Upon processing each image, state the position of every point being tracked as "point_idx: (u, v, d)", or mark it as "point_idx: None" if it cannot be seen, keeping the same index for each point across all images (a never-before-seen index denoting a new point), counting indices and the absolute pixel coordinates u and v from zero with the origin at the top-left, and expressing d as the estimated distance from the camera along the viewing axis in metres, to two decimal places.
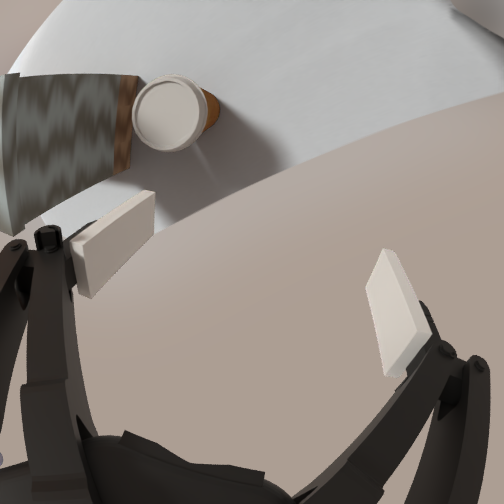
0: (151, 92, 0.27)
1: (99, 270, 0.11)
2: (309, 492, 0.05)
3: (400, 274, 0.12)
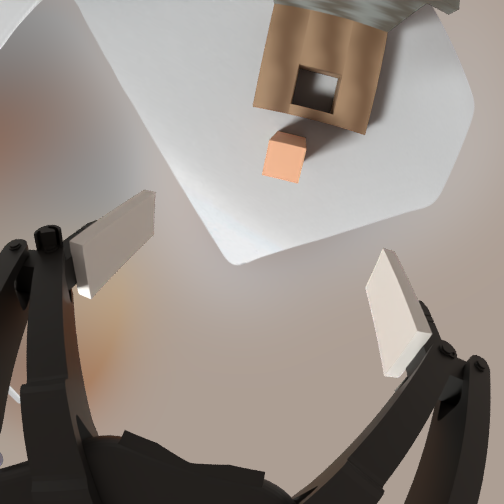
0: None
1: (99, 270, 0.11)
2: (309, 492, 0.05)
3: (400, 274, 0.12)
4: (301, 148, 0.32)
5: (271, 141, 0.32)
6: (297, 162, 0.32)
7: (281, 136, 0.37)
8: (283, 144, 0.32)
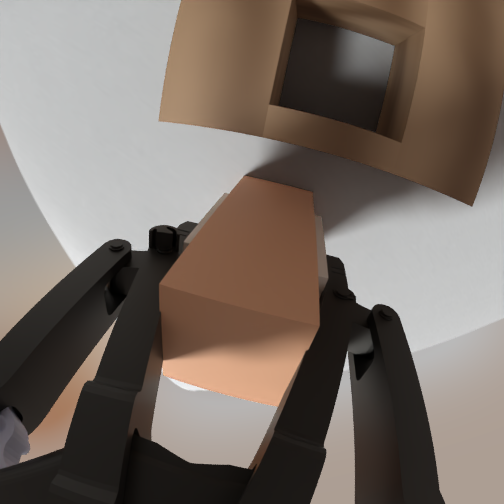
0: None
1: None
2: (253, 470, 0.05)
3: (316, 232, 0.14)
4: (297, 324, 0.07)
5: (168, 290, 0.08)
6: (277, 365, 0.08)
7: (240, 212, 0.13)
8: (218, 306, 0.07)
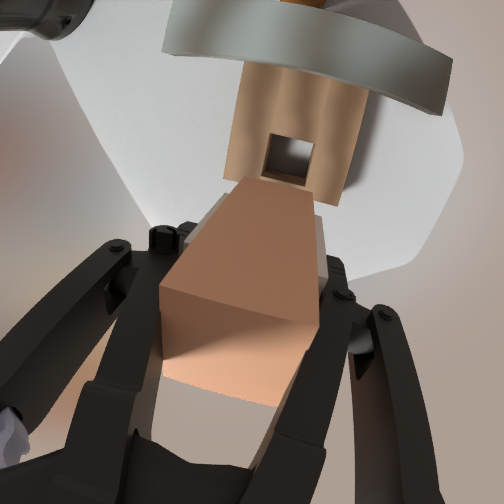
0: None
1: None
2: (253, 470, 0.05)
3: (316, 232, 0.14)
4: (297, 325, 0.07)
5: (168, 291, 0.08)
6: (276, 365, 0.08)
7: (240, 212, 0.13)
8: (218, 306, 0.07)
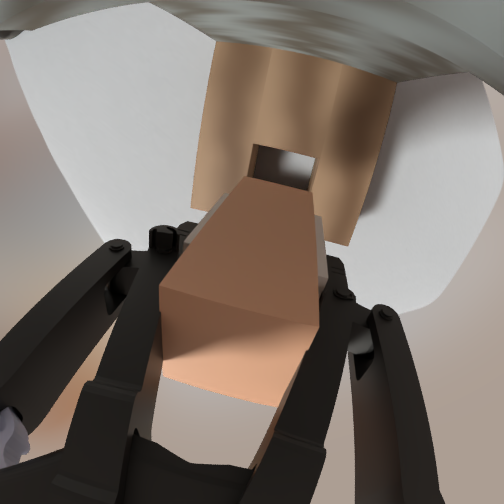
0: None
1: None
2: (253, 470, 0.05)
3: (316, 232, 0.14)
4: (297, 325, 0.07)
5: (168, 291, 0.08)
6: (276, 366, 0.08)
7: (240, 213, 0.13)
8: (218, 307, 0.07)
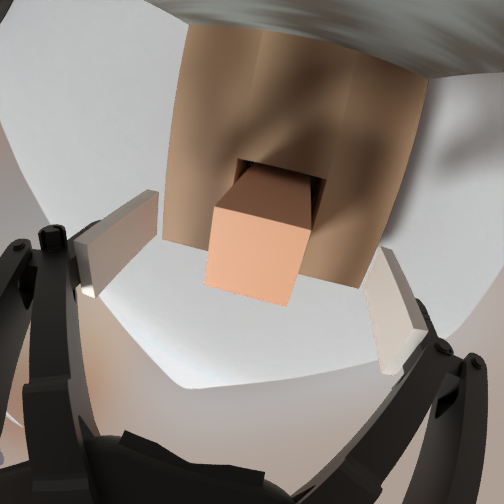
0: None
1: (103, 269, 0.11)
2: (307, 491, 0.05)
3: (397, 272, 0.12)
4: (298, 229, 0.13)
5: (219, 210, 0.13)
6: (285, 263, 0.13)
7: (257, 178, 0.18)
8: (250, 218, 0.13)
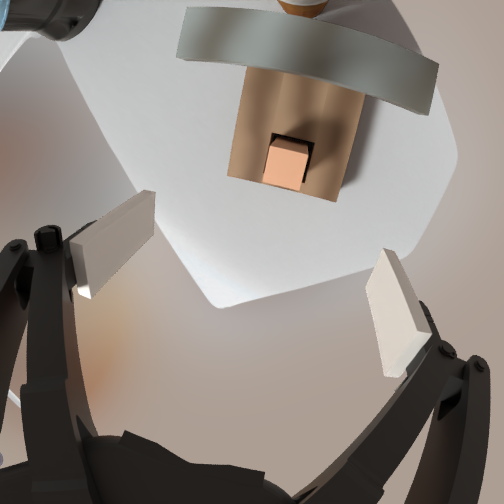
0: None
1: (99, 270, 0.11)
2: (309, 492, 0.05)
3: (400, 274, 0.12)
4: (303, 154, 0.31)
5: (272, 147, 0.31)
6: (298, 169, 0.32)
7: (282, 141, 0.36)
8: (284, 150, 0.31)
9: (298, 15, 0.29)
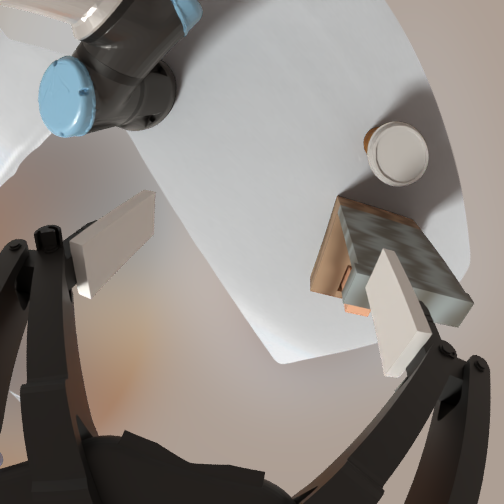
0: (381, 164, 0.35)
1: (99, 270, 0.11)
2: (309, 492, 0.05)
3: (400, 274, 0.12)
4: None
5: None
6: None
7: None
8: None
9: None
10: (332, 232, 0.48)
